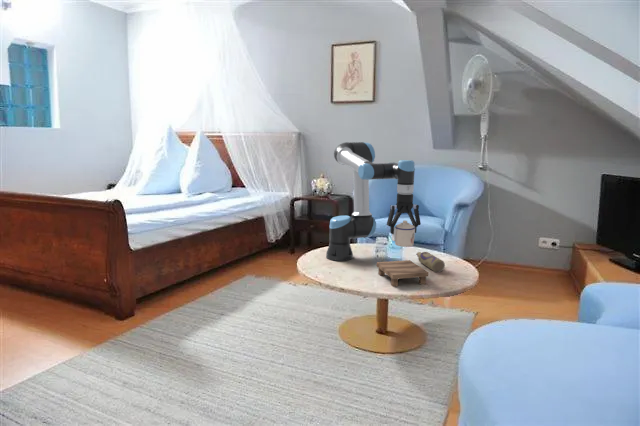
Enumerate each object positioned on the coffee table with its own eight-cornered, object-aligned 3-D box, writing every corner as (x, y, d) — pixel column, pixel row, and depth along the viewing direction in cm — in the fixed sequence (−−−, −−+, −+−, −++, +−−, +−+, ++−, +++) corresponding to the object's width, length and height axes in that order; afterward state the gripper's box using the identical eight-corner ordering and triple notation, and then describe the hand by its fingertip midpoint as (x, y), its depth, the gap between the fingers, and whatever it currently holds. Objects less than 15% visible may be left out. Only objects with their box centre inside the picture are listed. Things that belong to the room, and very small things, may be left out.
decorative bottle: (445, 272, 221) (446, 259, 219) (431, 273, 219) (432, 260, 218) (424, 258, 246) (424, 246, 244) (411, 258, 244) (412, 247, 243)
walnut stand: (376, 273, 216) (376, 262, 215) (409, 271, 221) (409, 260, 220) (392, 287, 197) (392, 274, 196) (427, 284, 202) (428, 272, 201)
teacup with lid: (415, 247, 200) (416, 222, 198) (395, 247, 200) (396, 222, 198) (411, 241, 211) (412, 217, 209) (393, 240, 212) (393, 217, 210)
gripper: (386, 195, 195) (384, 243, 199) (430, 193, 200) (427, 240, 204) (380, 192, 202) (378, 239, 207) (422, 191, 208) (420, 237, 212)
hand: (403, 240), depth 205 cm, fingers closed on teacup with lid, 9 cm apart
